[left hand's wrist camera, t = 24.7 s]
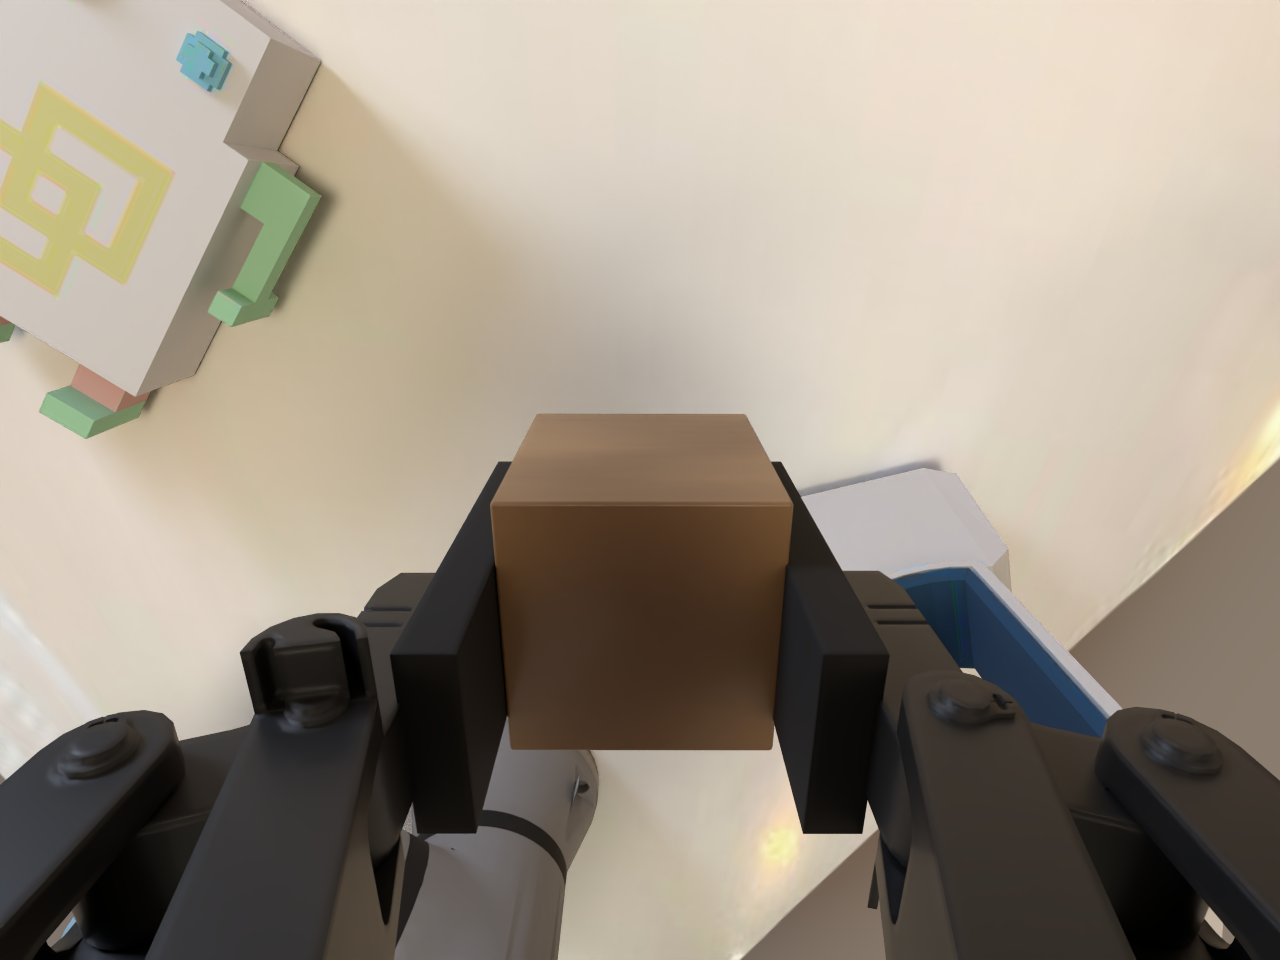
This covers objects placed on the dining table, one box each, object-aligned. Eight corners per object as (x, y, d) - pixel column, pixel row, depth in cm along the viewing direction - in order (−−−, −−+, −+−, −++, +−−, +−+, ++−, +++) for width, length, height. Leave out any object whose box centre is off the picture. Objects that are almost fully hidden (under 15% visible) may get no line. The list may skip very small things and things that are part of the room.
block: (746, 413, 14) (794, 502, 9) (735, 601, 15) (772, 751, 11) (536, 413, 14) (488, 502, 9) (546, 600, 15) (509, 751, 11)
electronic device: (783, 587, 52) (947, 1031, 24) (764, 497, 49) (923, 880, 21) (951, 549, 51) (1331, 971, 23) (941, 456, 48) (1356, 802, 20)
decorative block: (-71, -215, 30) (343, 94, 34) (47, -145, 36) (387, 111, 40) (-206, 280, 38) (146, 482, 42) (-90, 270, 44) (207, 448, 48)
